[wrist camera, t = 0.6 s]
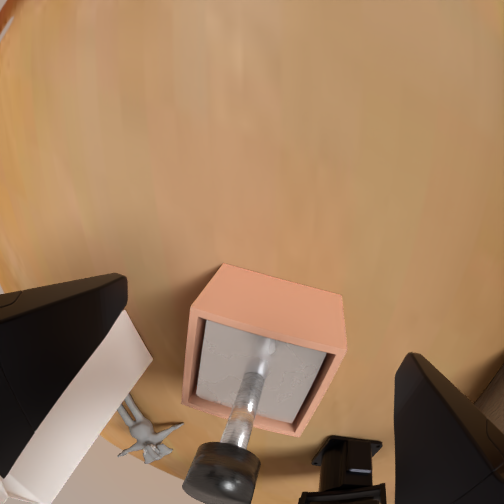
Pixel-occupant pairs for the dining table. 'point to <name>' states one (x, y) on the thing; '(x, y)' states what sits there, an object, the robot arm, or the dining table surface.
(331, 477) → the robot arm
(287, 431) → the clay pot
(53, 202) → the dining table surface
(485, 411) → the steel pot
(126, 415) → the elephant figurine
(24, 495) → the milk
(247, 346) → the joystick lever
